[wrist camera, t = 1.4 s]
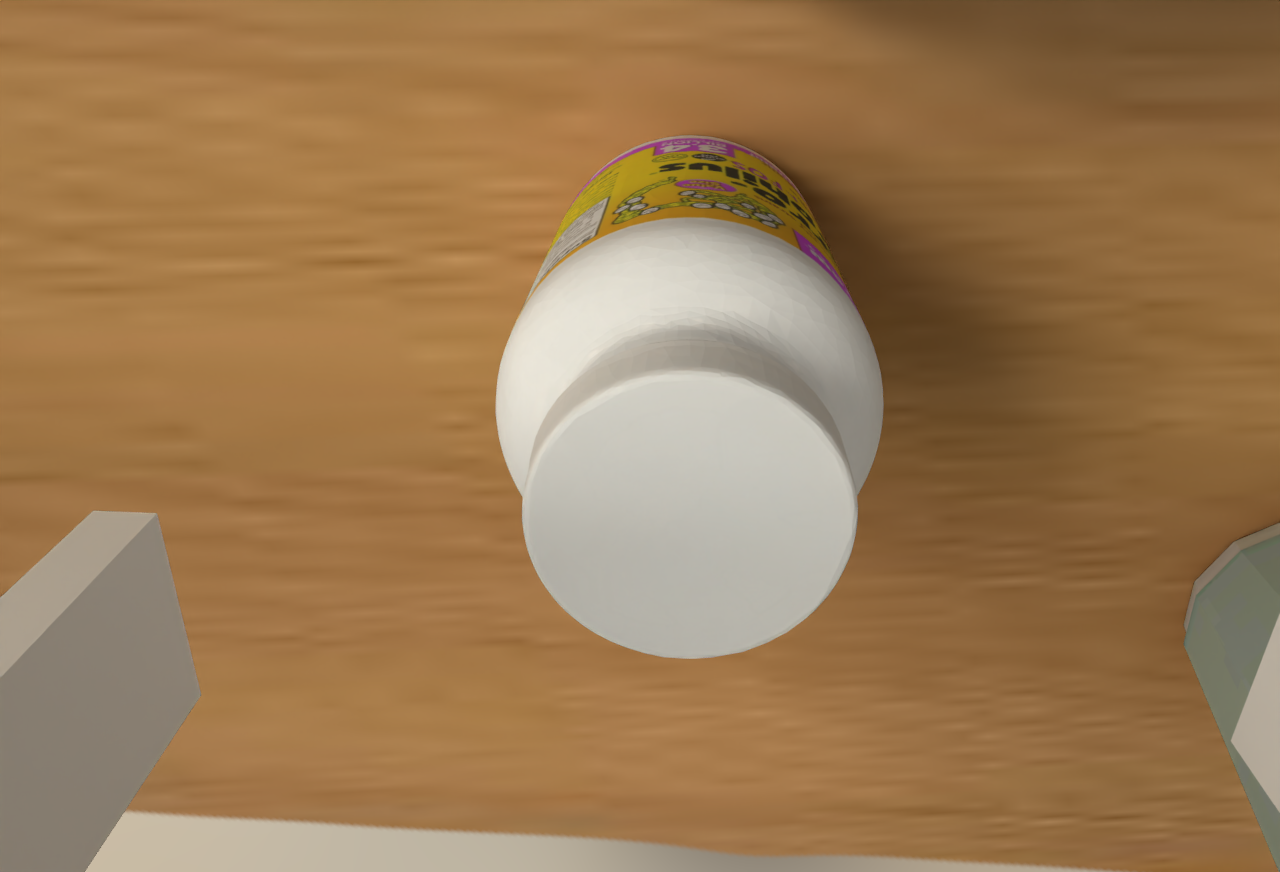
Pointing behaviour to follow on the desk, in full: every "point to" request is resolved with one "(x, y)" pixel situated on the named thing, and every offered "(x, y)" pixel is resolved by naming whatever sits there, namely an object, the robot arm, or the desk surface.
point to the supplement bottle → (689, 404)
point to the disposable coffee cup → (1237, 645)
